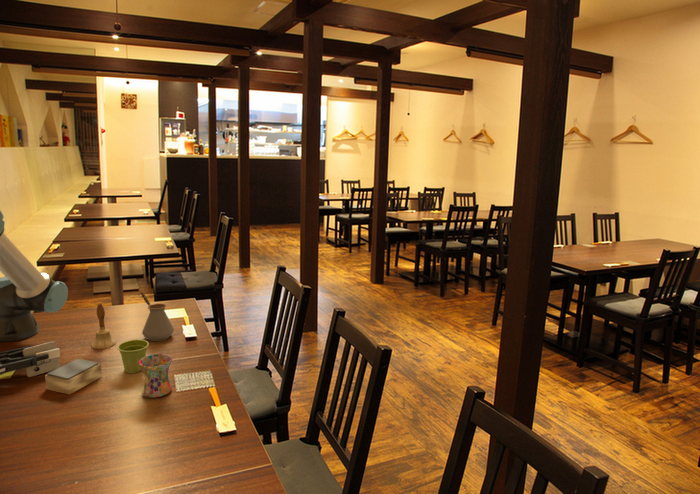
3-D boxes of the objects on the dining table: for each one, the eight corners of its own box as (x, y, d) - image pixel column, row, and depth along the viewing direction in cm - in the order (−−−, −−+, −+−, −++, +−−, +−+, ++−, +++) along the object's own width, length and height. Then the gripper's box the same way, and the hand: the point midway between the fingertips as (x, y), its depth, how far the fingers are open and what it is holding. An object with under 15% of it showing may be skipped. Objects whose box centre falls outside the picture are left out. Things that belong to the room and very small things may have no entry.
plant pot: (152, 362, 162) (150, 338, 160) (147, 374, 153) (146, 350, 151) (122, 364, 160) (121, 340, 158) (116, 377, 151) (114, 352, 149)
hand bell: (100, 350, 170) (96, 309, 166) (86, 345, 174) (82, 304, 170) (120, 343, 177) (118, 303, 173) (107, 338, 181) (104, 298, 177)
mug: (177, 394, 142) (175, 362, 139) (144, 403, 136) (142, 370, 134) (166, 378, 151) (164, 348, 149) (135, 386, 146) (133, 354, 143)
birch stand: (79, 372, 153) (78, 357, 152) (101, 376, 151) (100, 362, 150) (46, 389, 142) (44, 373, 141) (69, 394, 140) (67, 379, 139)
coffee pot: (179, 338, 183) (177, 301, 180) (149, 346, 175) (147, 307, 172) (156, 322, 198) (154, 288, 195) (128, 329, 190) (126, 294, 187)
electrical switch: (28, 378, 148) (24, 351, 146) (22, 373, 151) (19, 346, 149) (60, 368, 155) (58, 342, 153) (54, 364, 158) (52, 338, 157)
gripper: (-33, 370, 147) (53, 351, 163) (-28, 392, 135) (65, 369, 150) (-36, 348, 146) (51, 331, 161) (-31, 368, 133) (63, 347, 149)
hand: (57, 349), depth 156 cm, fingers closed on electrical switch, 4 cm apart
